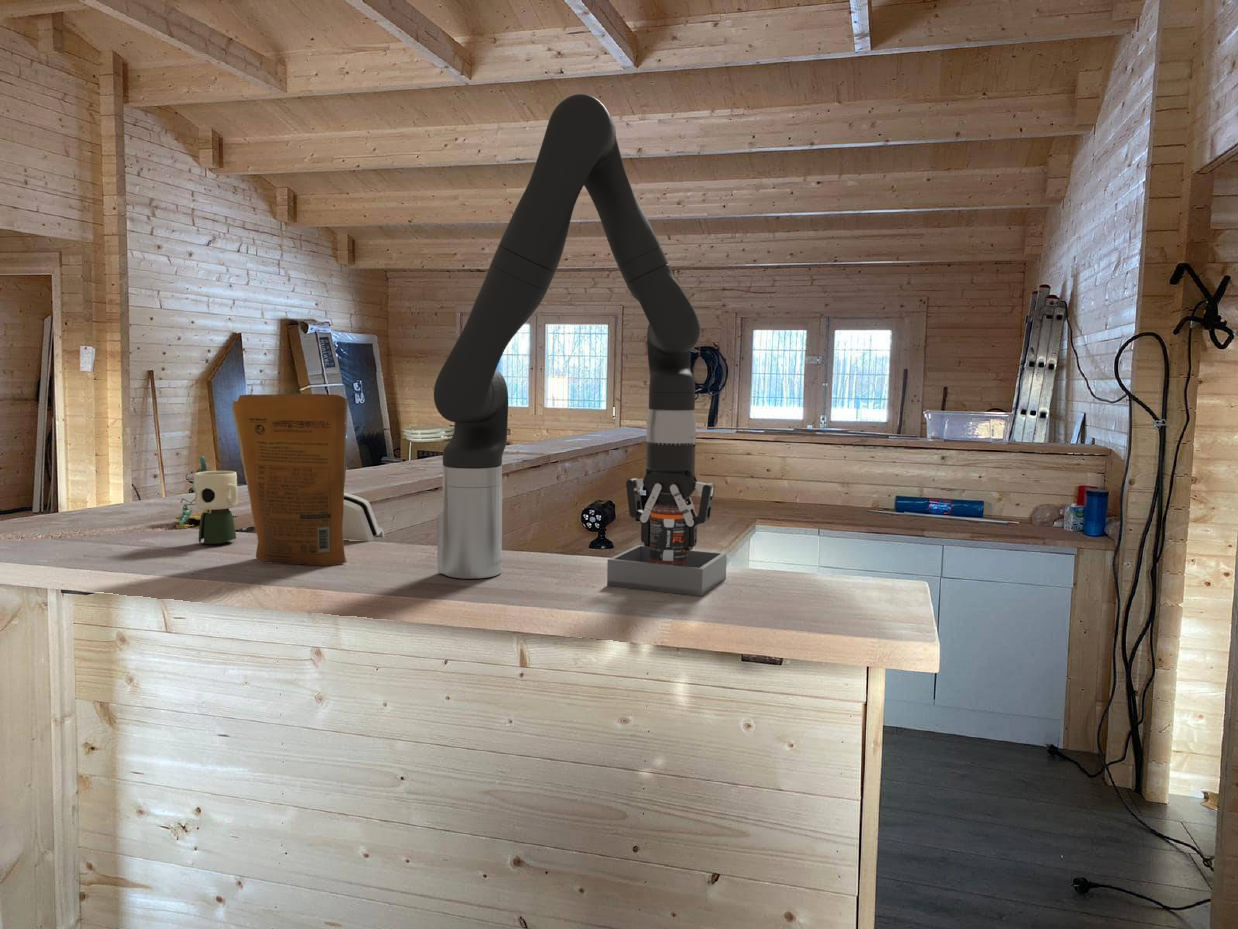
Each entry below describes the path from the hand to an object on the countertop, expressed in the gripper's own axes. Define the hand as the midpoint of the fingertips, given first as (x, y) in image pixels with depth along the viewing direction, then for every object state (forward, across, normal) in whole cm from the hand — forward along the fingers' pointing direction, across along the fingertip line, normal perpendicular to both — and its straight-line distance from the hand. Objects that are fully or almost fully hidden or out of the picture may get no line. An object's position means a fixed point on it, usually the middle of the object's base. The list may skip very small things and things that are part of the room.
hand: (668, 547), depth 136 cm
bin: (+5, 0, 0) cm, 5 cm away
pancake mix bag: (+6, -60, -15) cm, 62 cm away
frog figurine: (+6, -105, +7) cm, 106 cm away
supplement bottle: (+3, 0, 0) cm, 3 cm away
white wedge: (+6, -70, +7) cm, 70 cm away
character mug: (+5, -84, -9) cm, 85 cm away
